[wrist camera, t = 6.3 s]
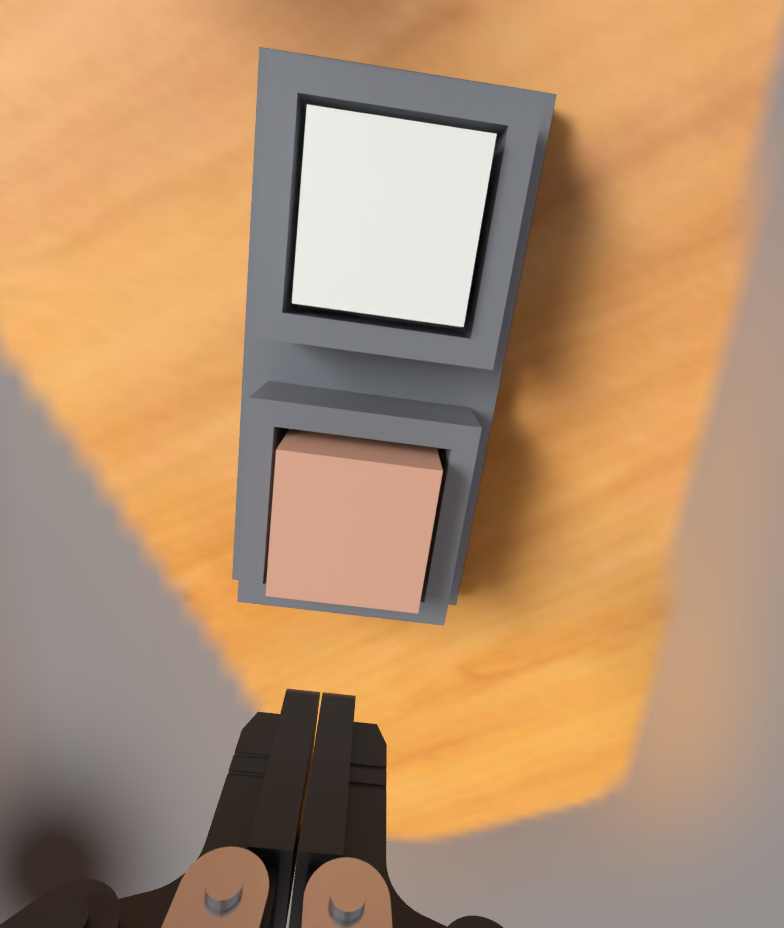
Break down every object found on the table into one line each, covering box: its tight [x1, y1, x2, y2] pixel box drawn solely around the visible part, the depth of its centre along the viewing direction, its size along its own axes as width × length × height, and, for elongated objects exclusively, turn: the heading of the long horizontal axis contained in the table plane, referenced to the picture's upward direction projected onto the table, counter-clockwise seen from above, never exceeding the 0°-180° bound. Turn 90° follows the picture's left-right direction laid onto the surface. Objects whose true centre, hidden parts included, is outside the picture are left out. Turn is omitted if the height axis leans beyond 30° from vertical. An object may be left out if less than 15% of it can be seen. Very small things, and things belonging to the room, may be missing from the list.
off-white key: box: [292, 104, 497, 327], centre depth 20 cm, size 6×6×3 cm
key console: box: [232, 47, 556, 625], centre depth 23 cm, size 22×11×5 cm, turn 172°
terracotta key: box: [265, 429, 443, 614], centre depth 22 cm, size 6×6×3 cm
